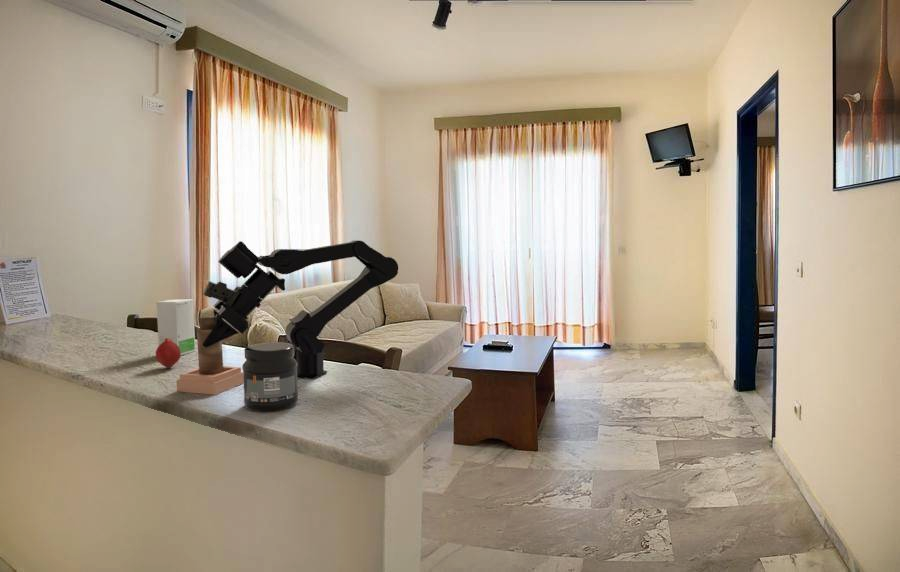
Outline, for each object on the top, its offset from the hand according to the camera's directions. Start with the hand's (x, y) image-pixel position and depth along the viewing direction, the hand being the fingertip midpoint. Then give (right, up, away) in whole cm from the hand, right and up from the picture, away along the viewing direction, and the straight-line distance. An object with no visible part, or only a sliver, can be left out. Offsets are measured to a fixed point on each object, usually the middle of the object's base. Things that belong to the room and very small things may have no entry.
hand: (203, 343), depth 125 cm
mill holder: (+1, -10, +1) cm, 10 cm away
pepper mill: (+1, -7, +1) cm, 7 cm away
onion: (-17, -8, +19) cm, 28 cm away
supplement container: (+19, -11, -12) cm, 25 cm away
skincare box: (-24, -7, +37) cm, 44 cm away
